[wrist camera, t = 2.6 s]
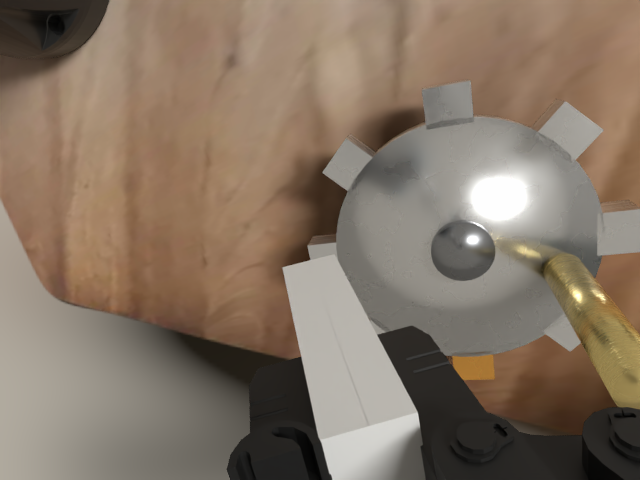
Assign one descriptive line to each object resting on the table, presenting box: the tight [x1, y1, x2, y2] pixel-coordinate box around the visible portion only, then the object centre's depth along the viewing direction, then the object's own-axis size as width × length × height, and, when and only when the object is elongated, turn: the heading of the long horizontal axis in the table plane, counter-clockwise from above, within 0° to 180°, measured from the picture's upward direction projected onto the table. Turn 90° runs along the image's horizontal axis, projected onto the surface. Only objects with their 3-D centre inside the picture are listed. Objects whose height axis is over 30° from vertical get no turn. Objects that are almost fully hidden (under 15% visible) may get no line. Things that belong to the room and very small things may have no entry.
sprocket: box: [307, 79, 640, 409], centre depth 26 cm, size 21×21×14 cm
